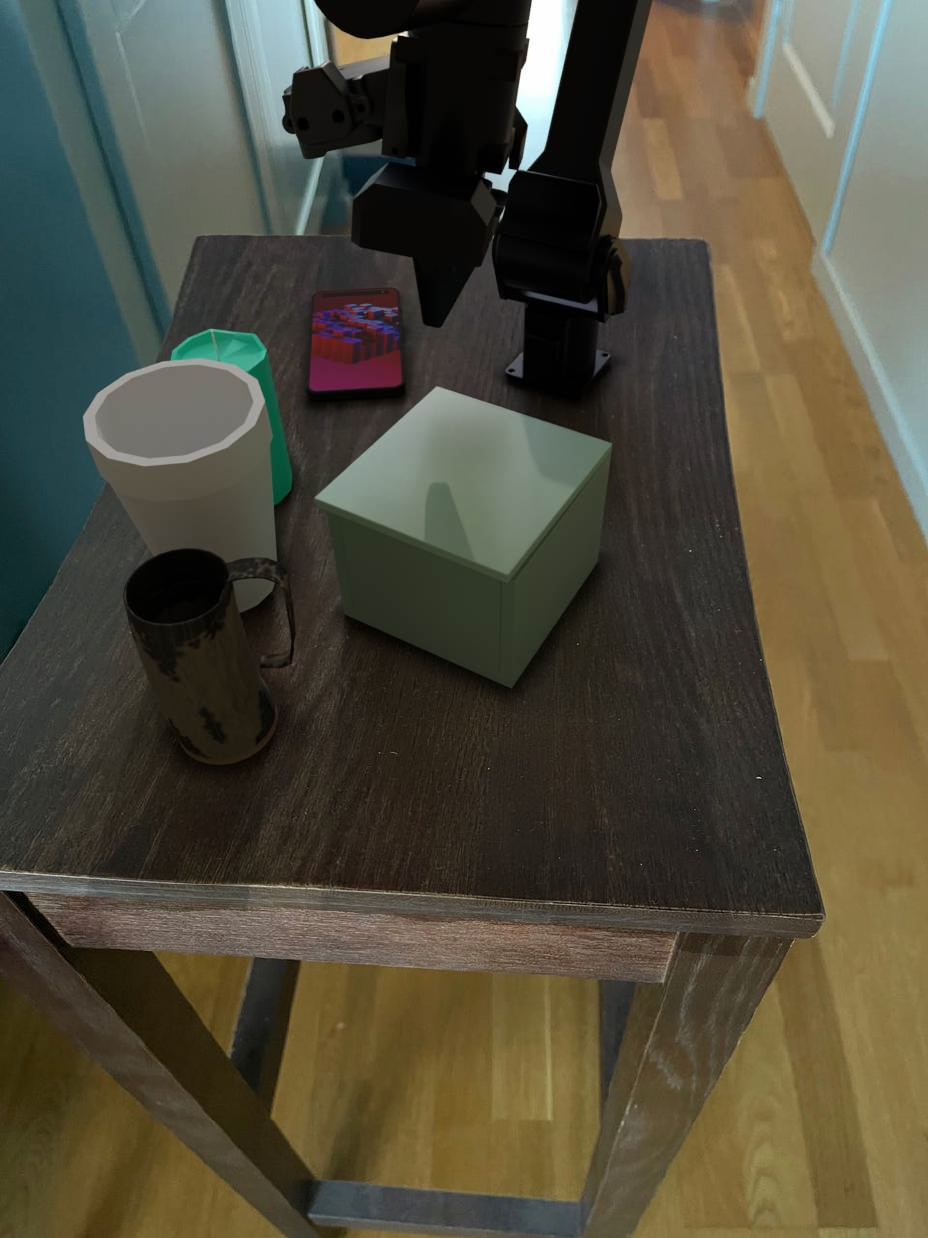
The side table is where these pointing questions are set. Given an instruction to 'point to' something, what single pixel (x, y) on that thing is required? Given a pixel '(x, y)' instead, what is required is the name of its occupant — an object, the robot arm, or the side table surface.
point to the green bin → (470, 589)
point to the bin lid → (467, 481)
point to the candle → (255, 362)
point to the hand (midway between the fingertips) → (433, 324)
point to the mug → (205, 650)
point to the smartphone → (355, 344)
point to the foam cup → (190, 461)
